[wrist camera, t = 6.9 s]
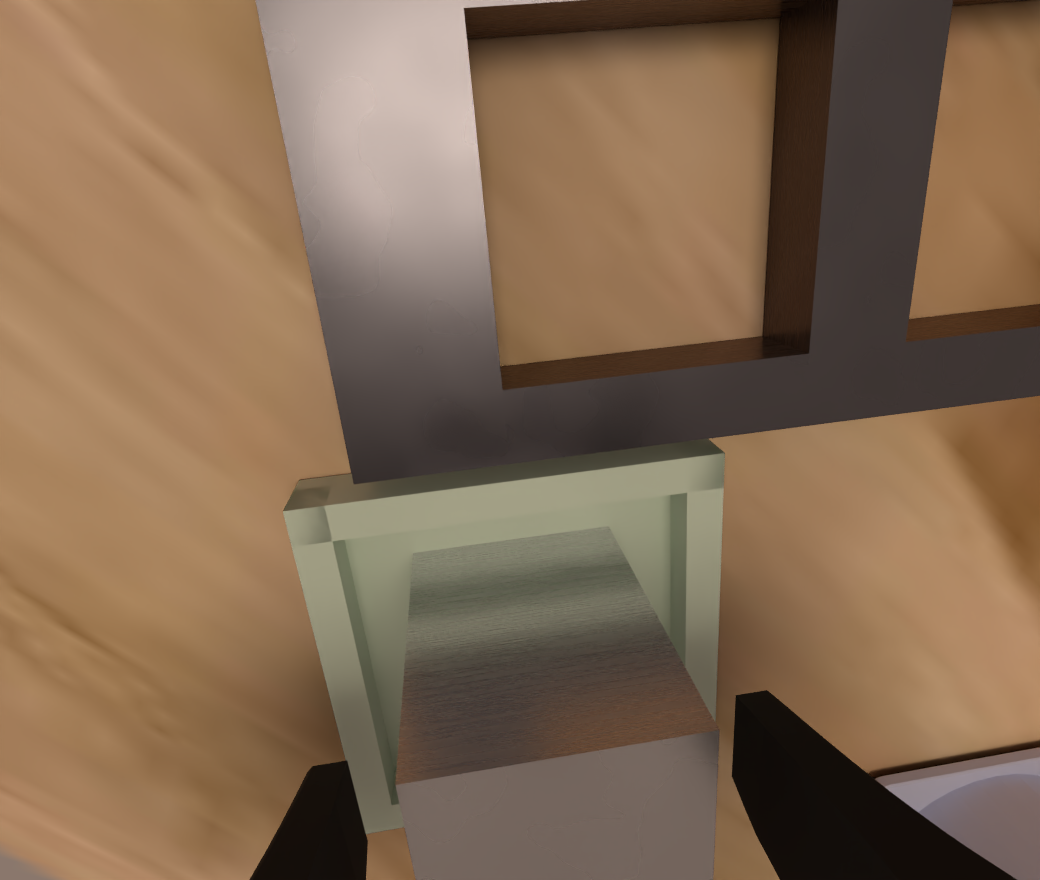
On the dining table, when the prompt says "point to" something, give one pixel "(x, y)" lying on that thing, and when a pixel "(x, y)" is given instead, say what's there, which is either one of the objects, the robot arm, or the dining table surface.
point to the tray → (483, 519)
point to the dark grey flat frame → (638, 374)
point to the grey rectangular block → (549, 720)
